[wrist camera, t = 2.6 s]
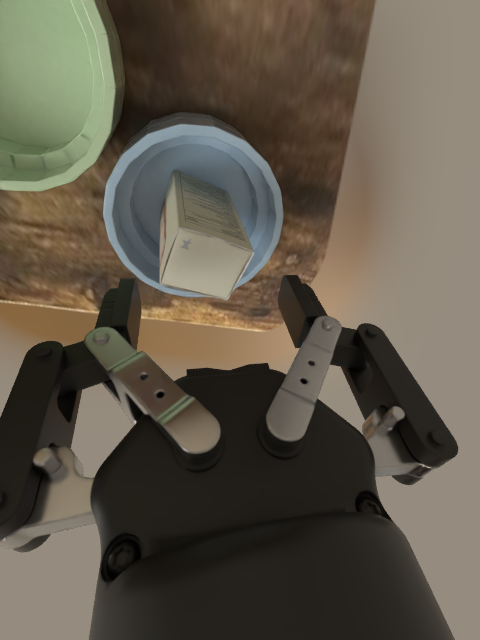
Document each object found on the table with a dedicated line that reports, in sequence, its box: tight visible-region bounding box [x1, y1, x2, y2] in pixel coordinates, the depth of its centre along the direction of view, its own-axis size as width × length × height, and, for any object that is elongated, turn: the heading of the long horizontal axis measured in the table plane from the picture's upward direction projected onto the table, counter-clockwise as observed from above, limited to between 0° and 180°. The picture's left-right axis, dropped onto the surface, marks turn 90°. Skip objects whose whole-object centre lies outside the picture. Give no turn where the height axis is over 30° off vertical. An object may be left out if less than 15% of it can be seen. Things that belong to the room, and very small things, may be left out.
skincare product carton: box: [160, 170, 254, 300], centre depth 21 cm, size 5×4×10 cm
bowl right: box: [103, 112, 284, 297], centre depth 23 cm, size 13×13×5 cm
